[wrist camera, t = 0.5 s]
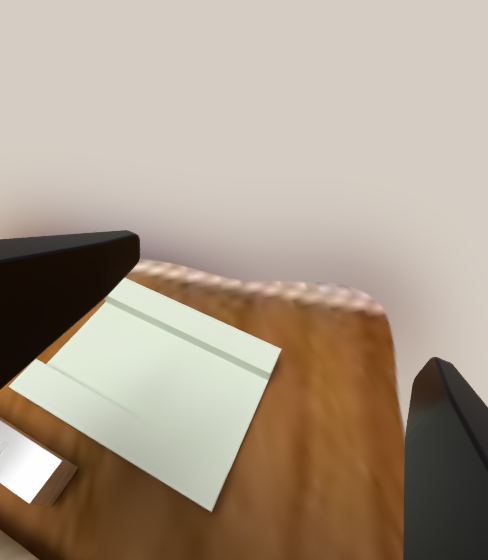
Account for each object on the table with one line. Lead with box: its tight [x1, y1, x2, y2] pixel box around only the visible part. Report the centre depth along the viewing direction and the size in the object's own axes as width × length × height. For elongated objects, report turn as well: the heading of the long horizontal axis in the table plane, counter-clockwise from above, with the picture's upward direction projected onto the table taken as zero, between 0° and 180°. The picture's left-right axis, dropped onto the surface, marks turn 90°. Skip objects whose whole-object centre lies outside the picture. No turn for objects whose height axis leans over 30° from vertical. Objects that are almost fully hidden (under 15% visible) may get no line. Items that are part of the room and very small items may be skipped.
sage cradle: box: [8, 278, 281, 513], centre depth 21 cm, size 10×14×2 cm
